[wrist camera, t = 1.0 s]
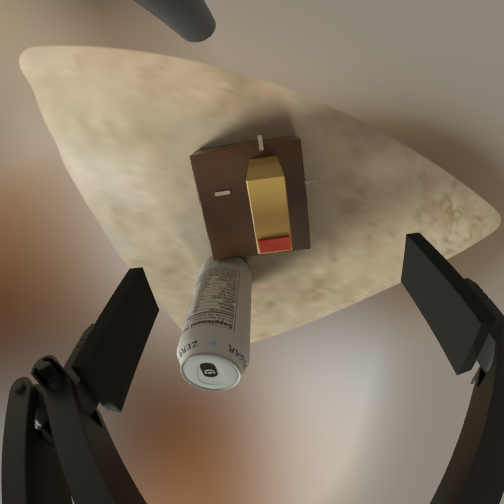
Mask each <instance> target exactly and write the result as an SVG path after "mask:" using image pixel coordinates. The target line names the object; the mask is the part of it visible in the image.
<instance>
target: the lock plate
mask: <svg viewBox="0 0 504 504" xmlns="http://www.w3.org/2000/svg"><path fill="white" fill-rule="evenodd" d="M272 156H277V157H278V160H279V163H280V165H281V168H282V171H283V173H284V176H285V183H286V192H287V200H288V209H289V218H290V228H291V238H292V248H293V249H292V250H288V251H294V250H302V249H309V248H310V237H309V223H308V211H307V199H306V188H305V184H311V183H320V179H310V180H305V177H304V168H303V158H302V149H301V141H300V139H299V138H298V137H297V136H290V137H281V138H273V139H265V140H262V135H258V141H250V142H244V143H237V144H231V145H225V146H219V147H214V148H208V149H203V150H198V151H195V152H194V153H193V154H192V155H190V160H191V165H192V170H193V174H194V179H195V184H196V188H197V193H198V197H199V202H200V206H201V210H202V215H203V219H204V223H205V227H206V232H207V236H208V240H209V244H210V248H211V252H212V256H213V260H221V259H229V258H238V257H246V256H254V255H262V254H258V250H257V244H256V237H255V231H254V225H253V219H252V213H251V207H250V201H249V195H248V189H247V183H246V180H247V173H248V165H249V160H250V159H257V158H264V157H272ZM280 252H286V251H280ZM273 253H278V252H273ZM265 254H270V253H265Z"/></svg>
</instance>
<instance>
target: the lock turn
mask: <svg viewBox="0 0 504 504" xmlns="http://www.w3.org/2000/svg"><path fill="white" fill-rule="evenodd" d="M246 183H247V189H248V195H249V201H250V207H251V213H252V219H253V225H254V231H255V237H256V244H257V250H258V254H265V253H273V252H280V251H288V250H292V249H293V248H292V238H291V228H290V218H289V209H288V200H287V192H286V183H285V176H284V173H283V171H282V168H281V165H280V163H279V160H278V157H277V156H272V157H264V158H257V159H250V160H249V165H248V173H247V180H246Z"/></svg>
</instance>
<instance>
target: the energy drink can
mask: <svg viewBox="0 0 504 504" xmlns="http://www.w3.org/2000/svg"><path fill="white" fill-rule="evenodd" d="M251 284H252V275H251V271H250V268H249V267H248V265H247V264H246V263H245V262H244V261H243V260H242V259H241V258H239V257H238V258H229V259H221V260H213V256H212V257H210V258H208V259H207V260H206V261H205V262H204V263H203V264H202V266H201V269H200V272H199V275H198V279H197V282H196V285H195V289H194V292H193V295H192V299H191V302H190V306H189V309H188V313H187V316H186V320H185V323H184V327H183V330H182V334H181V337H180V341H179V345H178V348H177V357H178V360H179V362H180V365H181V367H180V372H181V375H182V376H183V378H184V379H185V380H186V381H187V382H188V383H190V384H191V385H193V386H195V387H197V388H200V389H203V390H207V391H224V390H228V389H231V388H233V387H235V386H236V385H237V384H238V383H239V381H240V379H241V375H242V373H243V372H244V371H245V370H246V369H247V367H248V365H249V354H250V319H251Z"/></svg>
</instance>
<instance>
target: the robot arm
mask: <svg viewBox="0 0 504 504" xmlns="http://www.w3.org/2000/svg"><path fill="white" fill-rule="evenodd" d="M401 282H402V283H403V285H404V286H405V288H406V289H407V291H408V292H409V294H410V296H411V297H412V299H413V300H414V302H415V303H416V305H417V306H418V308H419V310H420V311H421V313H422V315H423V316H424V318H425V319H426V321H427V323H428V324H429V326H430V328H431V329H432V331H433V333H434V335H435V336H436V338H437V340H438V341H439V343H440V345H441V347H442V349H443V350H444V352H445V354H446V356H447V358H448V360H449V361H450V363H451V365H452V367H453V369H454V371H455V373H456V375H459V374H461V373H464V372H467V371H469V370H471V369H472V367H473V365H474V363H475V362H476V360H477V361H478V363H479V364H480V367H479V369H478V371H477V372H476V374H475V376H474V377H473V379H472V381H471V384H473V382H474V381H475V385H474V388H473V393H472V396H471V401H470V404H469V408H468V411H467V414H466V418H465V421H464V424H463V427H462V430H461V433H460V436H459V439H458V442H457V444H456V447H455V450H454V452H453V455H452V458H451V460H450V462H449V465H448V467H447V469H446V472H445V474H444V476H443V478H442V480H441V483H440V485H439V487H438V489H437V491H436V493H435V495H434V497H433V499H432V501H431V502H430V504H499V503H500V500H501V498H502V495H503V492H504V315H503V314H502V313H501V312H500V310H499V309H498V308H497V307H496V305H495V304H494V303H493V302H492V301H491V300H490V299H489V298H488V296H487V295H486V294H485V293H483V290H482V289H481V288H480V287H479V286H478V285H477V284H476V283H475V282H473V281H472V280H470V279H468V278H466V279H463V278H462V277H461V275H460V274H459V273H458V272H457V271H456V270H455V269H454V268H453V267H452V266H451V264H450V263H449V262H448V261H447V260H446V259H445V258H444V257H443V256H442V255H441V254H440V253H439V252H438V251H437V250H436V249H435V248H434V247H433V246H432V245H431V244H430V243H429V242H428V241H427V240H426V239H425V238H424V237H423V236H422V235H421V234H420V233H412V234H406V244H405V253H404V261H403V269H402V276H401ZM158 312H159V308H158V306H157V304H156V301H155V299H154V296H153V294H152V291H151V289H150V286H149V283H148V281H147V278H146V276H145V273H144V270H143V268H142V267H141V268H132V269H129V271H128V272H127V274H126V275H125V277H124V278H123V280H122V281H121V283H120V284H119V286H118V287H117V289H116V290H115V292H114V294H113V295H112V297H111V298H110V300H109V302H108V303H107V305H106V306H105V308H104V310H103V311H102V313H101V315H100V316H99V318H98V320H97V321H96V323H95V324H91V325H90V326H89V327H88V328H87V329H86V330H85V331H84V333H83V335H82V336H81V338H80V341H78V343H77V345H76V348H74V350H73V352H72V353H71V355H70V357H69V359H68V360H67V362H66V364H65V366H64V368H63V367H62V366H61V364H60V363H59V362H58V361H57V359H56V358H55V357H54V356H52V355H47V356H44V357H42V358H41V359H39V360H38V361H37V362H36V363H35V364H34V366H33V368H32V372H31V374H32V375H33V377H34V378H35V379H36V380H37V382H38V383H39V384H35V385H34V384H33V383H32V382H31V380H30V379H29V378H27V377H21V378H19V379H17V380H16V381H15V382H14V383H13V385H12V386H11V389H10V394H9V399H8V405H7V411H6V418H5V427H4V437H3V448H2V450H3V451H2V475H1V476H2V504H72V498H73V501H74V503H75V504H147V503H146V502H145V500H144V498H143V497H142V495H141V493H140V492H139V490H138V488H137V487H136V485H135V483H134V481H133V480H132V478H131V476H130V474H129V473H128V471H127V469H126V467H125V465H124V463H123V461H122V459H121V457H120V455H119V453H118V451H117V449H116V447H115V445H114V443H113V441H112V439H111V437H110V434H109V432H108V430H107V428H106V425H105V423H104V421H103V418H102V416H101V413H100V412H99V411H98V409H97V406H98V403H99V402H100V403H101V405H102V406H103V407H104V408H105V409H106V410H111V411H117V412H121V411H122V408H123V405H124V402H125V399H126V396H127V393H128V390H129V387H130V385H131V382H132V379H133V376H134V374H135V371H136V368H137V365H138V363H139V360H140V357H141V355H142V352H143V349H144V347H145V344H146V342H147V339H148V337H149V334H150V331H151V329H152V327H153V324H154V321H155V319H156V317H157V314H158ZM35 422H36V423H37V424H38V429H36V428H35ZM71 496H72V498H71Z"/></svg>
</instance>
